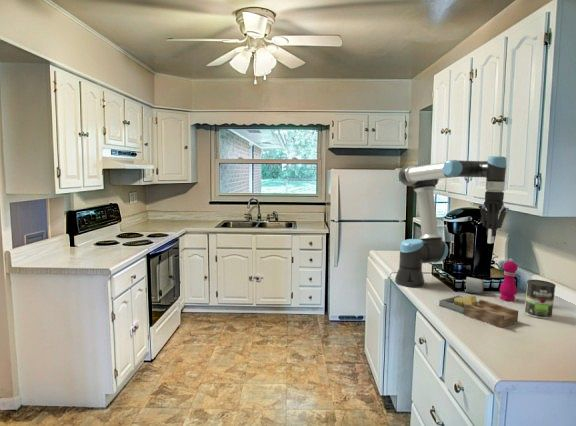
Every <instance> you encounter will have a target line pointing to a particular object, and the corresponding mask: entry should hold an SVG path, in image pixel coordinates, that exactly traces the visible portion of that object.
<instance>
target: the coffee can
mask: <svg viewBox="0 0 576 426" xmlns="http://www.w3.org/2000/svg"><path fill="white" fill-rule="evenodd" d="M526 283H527V286H526V293H525V303H524V305H525V306H524V314H525V315H527V316H528V317H529V316H530V317H532V318H536V319H541V320H550V319H552V318H553V309H554V300H555V292H556V291H555V290H556V284H555V283H553V282H551V281H546V280H541V279H528V280H527V281H526Z"/></svg>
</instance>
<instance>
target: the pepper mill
mask: <svg viewBox="0 0 576 426" xmlns="http://www.w3.org/2000/svg"><path fill="white" fill-rule="evenodd" d="M502 268H503V270H504V271H503V275H504V279H503V281H502V283H501V284H500V287H499V292H500V293H501V294H500V295H499V297H500V300H502V301H505V302H516V296H515V295H517V293H518V288H517V286H516V282H515V276H516V273H517V270H518V264H517V263H516V262H514V259H513V258H508V261H505V262H504V263H503V265H502Z"/></svg>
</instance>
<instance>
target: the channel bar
mask: <svg viewBox="0 0 576 426" xmlns="http://www.w3.org/2000/svg"><path fill="white" fill-rule="evenodd" d="M478 302H479V304H478V305H476V306H473V305H470V304H465V309H464V314H463V316H465V317H468V318H471V319H474V320H476V321H480V322H482V323H485V322H486V324H488V323H489V325H491V326H494V327H497V328H500V329H503V328H505V327H508V326H511V325H513V324H516V323H518V322H519V319H518V318H519V310H517V309H514V308H510V307H507V306H505V305H501V304H497V303H494V302H491V301H487V300H484V299H479V300H478Z"/></svg>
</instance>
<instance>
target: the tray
mask: <svg viewBox="0 0 576 426" xmlns="http://www.w3.org/2000/svg"><path fill="white" fill-rule="evenodd" d="M457 297H463V296H461V295H455V296H451V297H447V298H444V299H439V303H438V306H439V307H441V308H445V309H448V310H450V311H454V312H457V313H459V314H463V315H464V309H465V307H464V308H463V307H460V306H457V305H454V298H457ZM478 304H479V300H477V305H478Z"/></svg>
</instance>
